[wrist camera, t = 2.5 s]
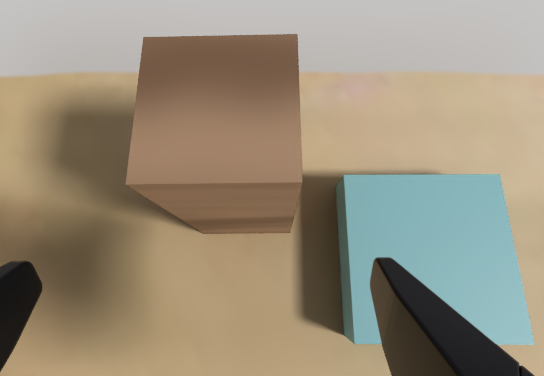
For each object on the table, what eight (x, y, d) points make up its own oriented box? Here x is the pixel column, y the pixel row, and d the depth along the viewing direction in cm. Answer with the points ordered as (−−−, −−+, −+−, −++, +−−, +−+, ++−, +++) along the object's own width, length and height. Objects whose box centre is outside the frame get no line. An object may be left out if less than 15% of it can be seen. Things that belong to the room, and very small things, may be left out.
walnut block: (289, 232, 20) (302, 182, 10) (203, 233, 21) (125, 184, 10) (288, 152, 22) (297, 34, 11) (207, 153, 22) (143, 37, 12)
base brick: (495, 334, 19) (534, 344, 16) (342, 334, 19) (354, 343, 16) (469, 188, 22) (499, 174, 19) (334, 188, 22) (343, 174, 19)
